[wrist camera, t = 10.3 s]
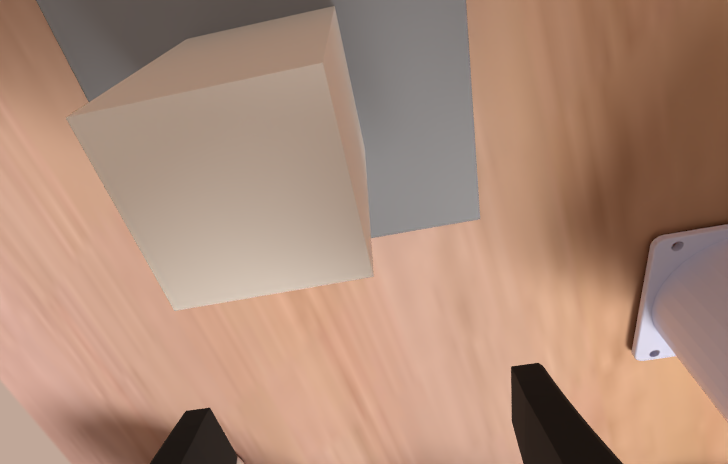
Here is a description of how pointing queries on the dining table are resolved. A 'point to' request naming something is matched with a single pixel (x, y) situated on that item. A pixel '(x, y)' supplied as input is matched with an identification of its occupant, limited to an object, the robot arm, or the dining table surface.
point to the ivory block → (238, 162)
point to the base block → (367, 75)
